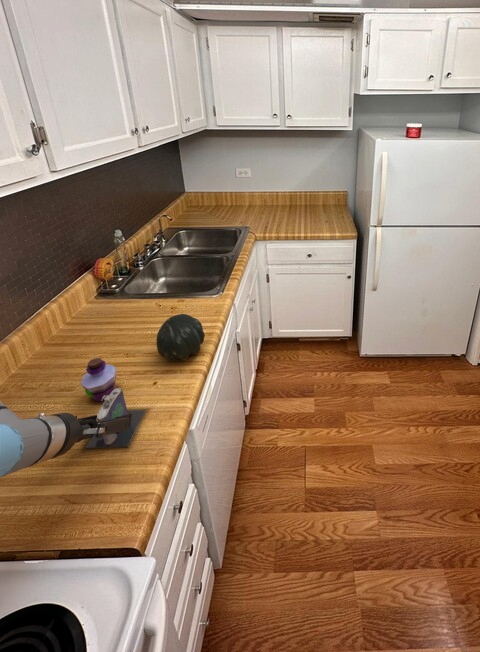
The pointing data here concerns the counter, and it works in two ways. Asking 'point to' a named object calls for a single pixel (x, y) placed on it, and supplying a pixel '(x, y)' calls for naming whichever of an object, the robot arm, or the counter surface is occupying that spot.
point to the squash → (180, 337)
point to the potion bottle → (99, 379)
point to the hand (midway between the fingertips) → (112, 420)
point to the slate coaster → (124, 436)
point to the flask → (112, 411)
